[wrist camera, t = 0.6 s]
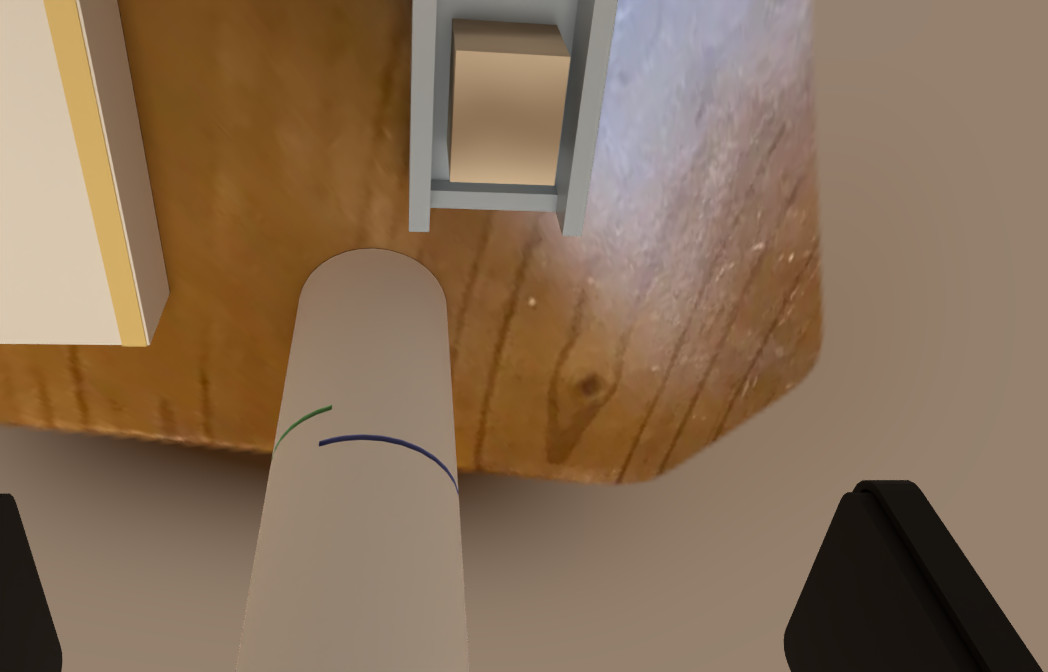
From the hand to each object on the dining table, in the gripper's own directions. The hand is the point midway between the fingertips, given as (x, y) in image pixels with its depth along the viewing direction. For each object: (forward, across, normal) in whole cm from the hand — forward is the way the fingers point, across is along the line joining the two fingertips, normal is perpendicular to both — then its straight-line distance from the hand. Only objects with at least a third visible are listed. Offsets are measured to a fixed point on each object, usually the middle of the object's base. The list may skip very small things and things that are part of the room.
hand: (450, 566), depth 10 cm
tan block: (+27, -3, +3) cm, 27 cm away
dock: (+29, +16, +7) cm, 34 cm away
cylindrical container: (+30, +2, +16) cm, 33 cm away
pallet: (+29, -3, +3) cm, 29 cm away
